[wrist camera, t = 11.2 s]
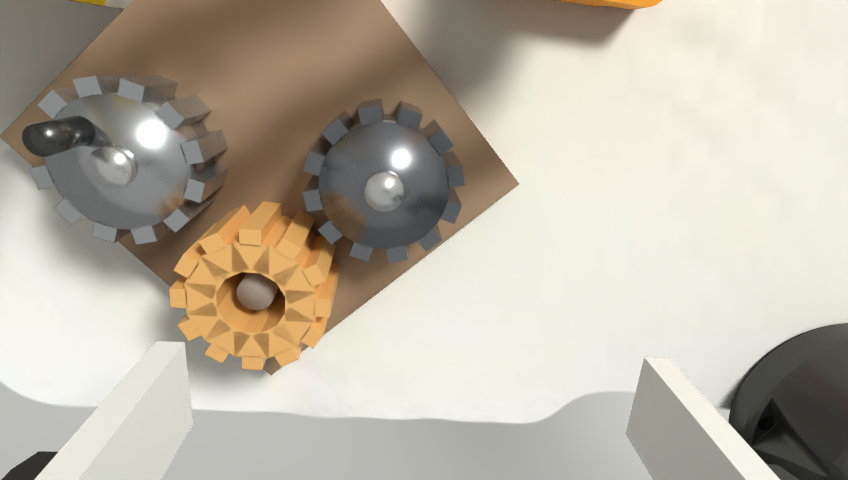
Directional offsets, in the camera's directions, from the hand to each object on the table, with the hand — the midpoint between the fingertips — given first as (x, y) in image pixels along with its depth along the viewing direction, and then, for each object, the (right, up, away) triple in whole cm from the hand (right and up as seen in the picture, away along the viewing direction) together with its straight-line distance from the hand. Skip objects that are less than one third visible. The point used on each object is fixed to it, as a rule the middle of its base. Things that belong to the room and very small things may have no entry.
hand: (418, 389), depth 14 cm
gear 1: (-15, +9, +14) cm, 23 cm away
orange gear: (-9, +3, +17) cm, 20 cm away
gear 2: (-2, +8, +15) cm, 18 cm away
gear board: (-9, +10, +17) cm, 21 cm away
